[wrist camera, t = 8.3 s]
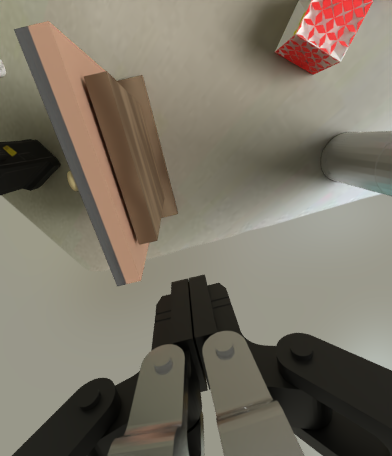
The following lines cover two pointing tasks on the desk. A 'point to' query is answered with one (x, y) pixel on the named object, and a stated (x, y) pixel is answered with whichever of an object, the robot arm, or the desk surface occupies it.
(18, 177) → the portable radio
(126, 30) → the desk surface
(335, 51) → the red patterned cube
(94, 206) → the picture frame
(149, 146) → the frame stand
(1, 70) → the hat wearing toy figure
